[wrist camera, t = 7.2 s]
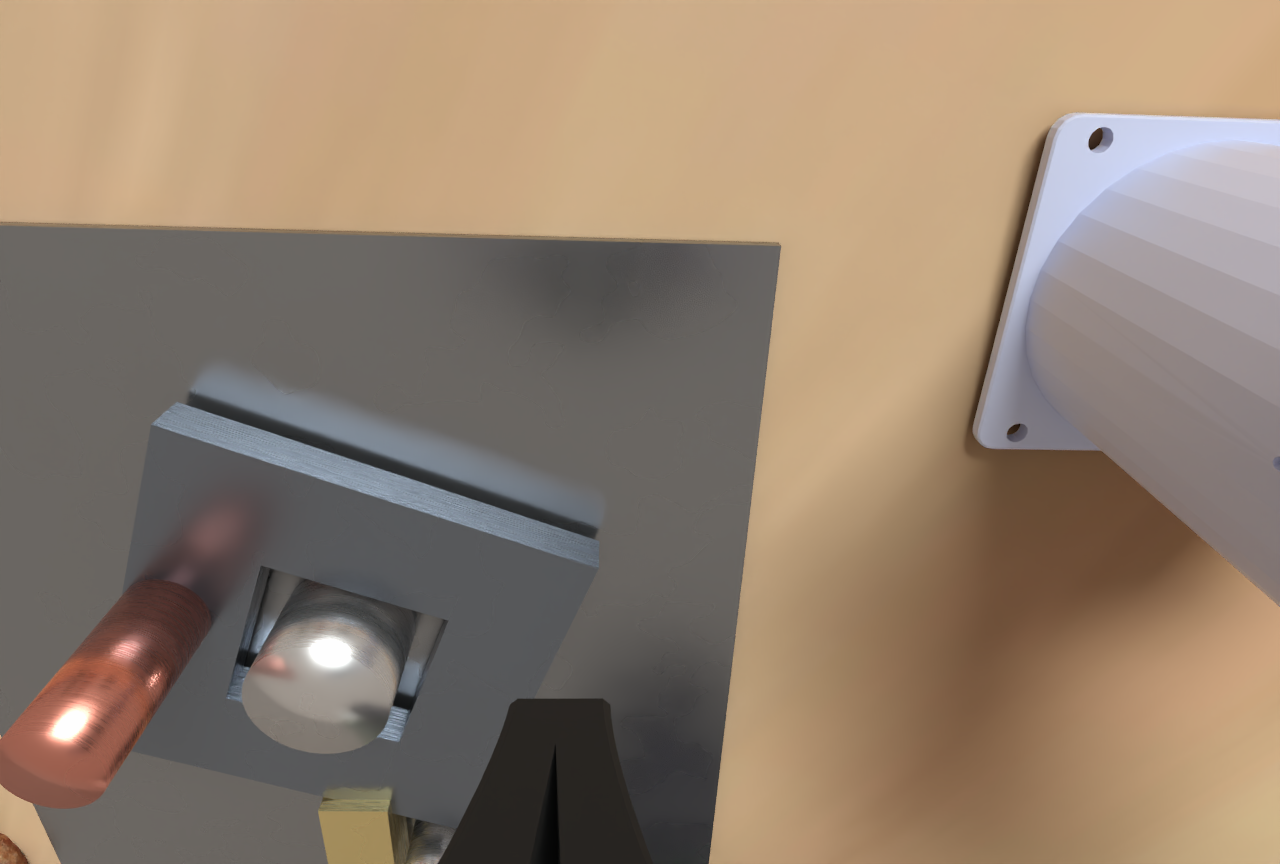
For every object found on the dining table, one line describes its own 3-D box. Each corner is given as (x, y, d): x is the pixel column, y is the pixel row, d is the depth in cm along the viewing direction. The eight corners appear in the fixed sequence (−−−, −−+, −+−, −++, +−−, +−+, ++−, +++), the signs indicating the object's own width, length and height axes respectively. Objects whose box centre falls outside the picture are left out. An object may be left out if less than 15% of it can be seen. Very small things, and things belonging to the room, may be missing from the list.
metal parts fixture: (176, 401, 19) (7, 552, 14) (599, 540, 21) (596, 716, 16) (102, 806, 25) (-34, 1018, 20) (433, 880, 27) (391, 1087, 22)
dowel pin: (462, 806, 26) (446, 888, 24) (465, 837, 27) (451, 921, 24) (413, 806, 26) (392, 889, 24) (417, 838, 27) (398, 921, 24)
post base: (778, 242, 18) (811, 285, 15) (707, 857, 28) (718, 954, 25) (-229, 216, 17) (-402, 256, 14) (70, 864, 27) (6, 965, 24)
